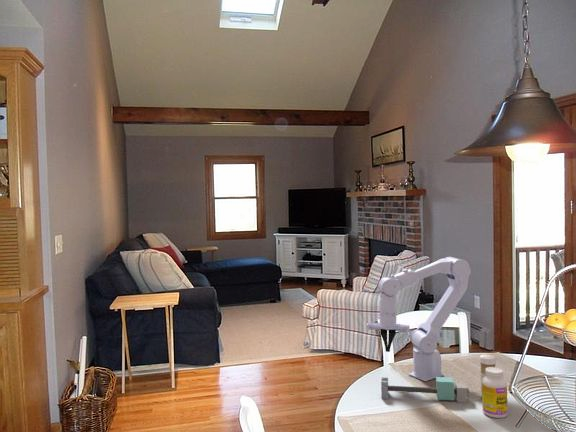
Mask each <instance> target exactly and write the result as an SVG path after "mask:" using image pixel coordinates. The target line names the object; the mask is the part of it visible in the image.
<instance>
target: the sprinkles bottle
mask: <svg viewBox="0 0 576 432" xmlns="http://www.w3.org/2000/svg"><path fill="white" fill-rule="evenodd" d="M479 362H480V390H481V392H482V379H483V377H485V376H486V373H485V369H486V368H487V367H496V364H497V357H496V356H495V355H492V354H487V353H486V354H481V355H480V356H479ZM481 399H482V395H481Z"/></svg>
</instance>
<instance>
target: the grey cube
mask: <svg viewBox="0 0 576 432" xmlns="http://www.w3.org/2000/svg"><path fill="white" fill-rule="evenodd" d="M455 389H456V390H457V394H455V398H456V402H457V403H463V404H464V403H466V404H468V403H469V400H468V398H469V397H470V390H469V387H468V386H467V384H466V383H460V382H456V383H455Z"/></svg>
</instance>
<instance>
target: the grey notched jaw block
mask: <svg viewBox="0 0 576 432" xmlns="http://www.w3.org/2000/svg"><path fill="white" fill-rule="evenodd" d="M380 383H381V384H380V387H381V390H380V391H381V399H382V400H388V399H389V393H390V391H388V386H389V377H381V381H380Z"/></svg>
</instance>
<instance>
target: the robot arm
mask: <svg viewBox="0 0 576 432" xmlns="http://www.w3.org/2000/svg"><path fill="white" fill-rule="evenodd" d="M470 267H471V266H470V264H469V262H468V261H467V260H465V259H462V258H456V257H453V256H446V257H444V258H439V259H438V260H436V261H433V262H432V263H429V264H427V265H425V266H423V267H420V268H418V269H415V270H413V269H411V268H410V269H407V268H404V269H402V271H401V272H398V273H395V274H390V277H387V276H386V277H382V278H381V279H380V280H379V281H378V284H377V290H378V291H379V322H367V323H366V330H367V331H369V330H373V331H376V330H377V331H379V332H380V335H381V338H382V341H383V344H384V347H385V352H387V353H390V352H391V347H392V343H393V341H394V339H395V337H396V334H397V333H396V332H406V333H410V325H409V324H400V323H397V294H399V292H401V291H403V290H406V289H407V288H410V287H411V288H412V287H413V286H416V285H417V283H418V282H419V280H421V279H425V278H428V277H431V276H433V275H436V274H439V273H440V274H445V276H446V278H447V280H448V283H449V286H448V287H447V289H446V290H445V292H444V294H443V295H442V297H441V298H440V300H439V301H438V303H437V304H436V305H435V307H434V309H433V310H432V312H431V314H430V315H429V316H428V318H427V320H426V321H425V322H423V323H420V325H418V327H417V328H416V329H414V330H412V332H411V334H410V341H411V342H410V343H411V344H412V345H413V348H412V351H413V352H412V355H413V357H412V359H413V360H412V361H413V371H411V372H409V373H408V376H411V377H413V378H415V379H418V380H421V381H423V382H428V381H431V380H433V379H436V377H444V375H445V374H444V373H442V356H441V353H440V351H439V350H438V349H437V347H438V342H439V340H440V339H441V334H440V331H441V329H442V327H444V324H445V323H446V322H447V321H448V318H449V317H450V315H451V314H452V312H453V311H454V309H455V308H456V306H457V305H458V304H459V302H460V300H461V299H462V297H463V296H464V295H465V293H466V291H467V290H468V283H469V277H470V275H471V273H472V270H471V268H470Z"/></svg>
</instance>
